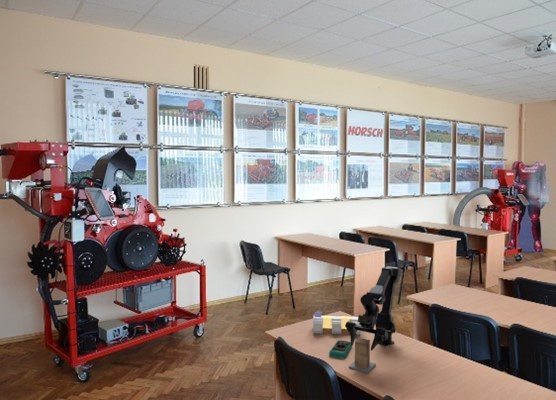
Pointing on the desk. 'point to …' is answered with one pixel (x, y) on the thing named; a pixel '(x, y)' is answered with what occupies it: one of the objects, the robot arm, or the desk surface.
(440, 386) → the desk surface
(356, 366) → the grey pad
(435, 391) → the desk surface
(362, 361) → the walnut block
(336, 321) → the grey yellow long block
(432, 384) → the desk surface
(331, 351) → the digital multimeter
